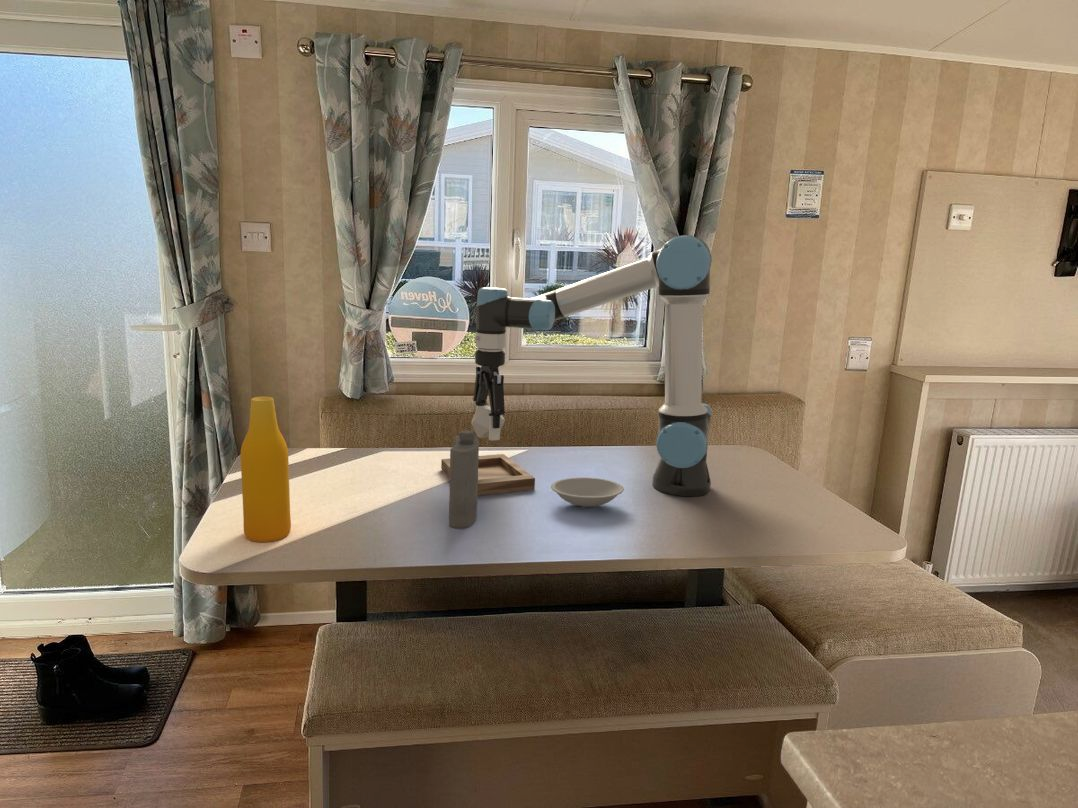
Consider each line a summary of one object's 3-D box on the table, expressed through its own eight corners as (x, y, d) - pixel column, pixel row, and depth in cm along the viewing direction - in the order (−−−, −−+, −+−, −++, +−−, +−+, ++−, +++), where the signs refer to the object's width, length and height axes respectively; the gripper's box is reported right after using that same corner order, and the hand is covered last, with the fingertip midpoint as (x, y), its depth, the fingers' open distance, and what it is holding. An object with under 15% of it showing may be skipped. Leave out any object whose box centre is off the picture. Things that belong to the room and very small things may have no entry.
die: (494, 444, 187) (514, 412, 189) (465, 427, 186) (485, 395, 188) (490, 447, 195) (508, 416, 197) (462, 430, 194) (481, 399, 196)
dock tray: (534, 489, 189) (535, 478, 188) (467, 496, 182) (467, 484, 181) (502, 464, 209) (503, 453, 208) (441, 469, 201) (441, 459, 201)
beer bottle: (276, 545, 149) (271, 405, 143) (234, 540, 151) (227, 401, 144) (299, 528, 158) (295, 395, 152) (259, 523, 160) (253, 392, 153)
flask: (474, 529, 162) (476, 441, 157) (447, 528, 162) (449, 440, 157) (478, 505, 176) (481, 423, 172) (454, 504, 176) (456, 422, 172)
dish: (613, 495, 187) (615, 476, 186) (629, 516, 173) (631, 496, 172) (545, 496, 184) (546, 477, 183) (555, 518, 170) (557, 497, 169)
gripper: (462, 342, 196) (460, 425, 201) (491, 356, 176) (488, 447, 181) (489, 342, 199) (486, 423, 204) (520, 356, 179) (517, 445, 184)
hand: (487, 434), depth 192 cm, fingers closed on die, 9 cm apart
